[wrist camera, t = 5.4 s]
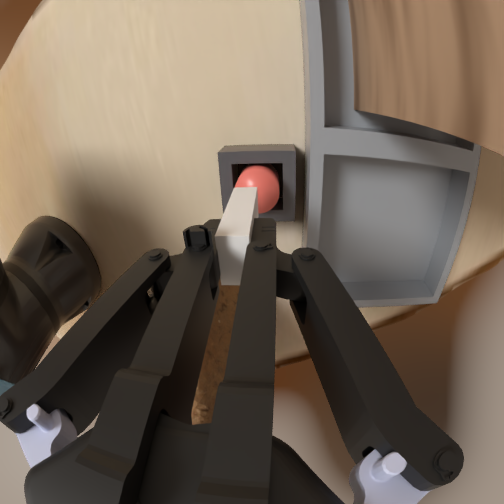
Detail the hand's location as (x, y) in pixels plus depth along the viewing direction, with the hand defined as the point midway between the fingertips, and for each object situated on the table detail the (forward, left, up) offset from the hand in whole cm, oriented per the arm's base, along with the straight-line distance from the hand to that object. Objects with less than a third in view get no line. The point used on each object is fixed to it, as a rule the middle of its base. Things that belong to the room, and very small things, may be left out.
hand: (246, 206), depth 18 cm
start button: (0, 0, -6) cm, 6 cm away
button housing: (0, 0, -7) cm, 7 cm away
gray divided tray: (+12, +4, -7) cm, 15 cm away
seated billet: (+12, +12, -6) cm, 18 cm away
